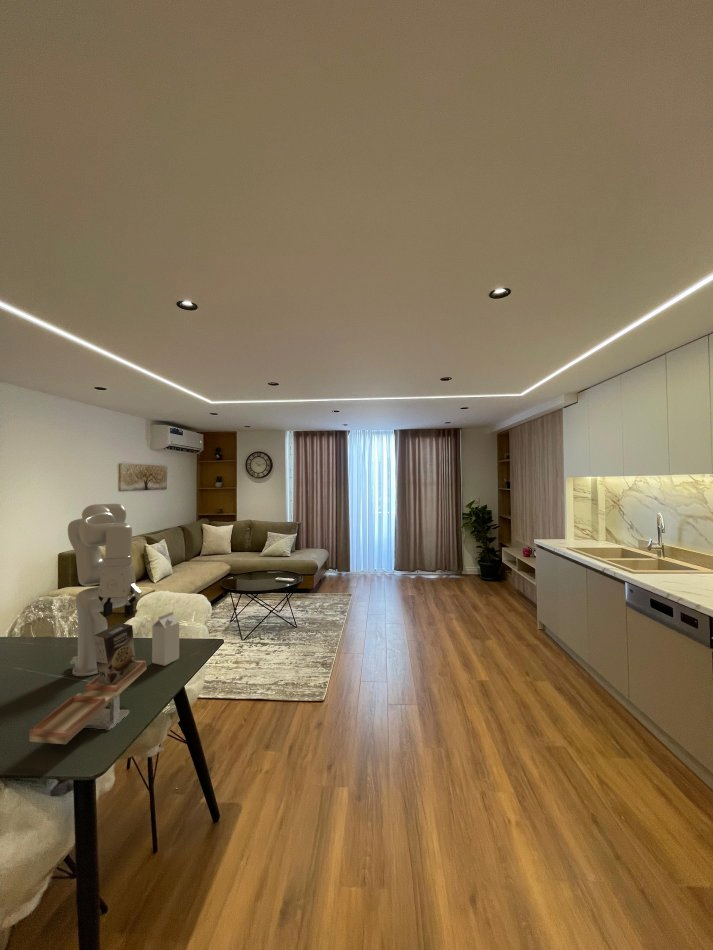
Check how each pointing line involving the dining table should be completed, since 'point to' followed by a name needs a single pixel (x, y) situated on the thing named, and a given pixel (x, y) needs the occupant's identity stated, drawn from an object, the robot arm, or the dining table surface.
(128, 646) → the coffee box
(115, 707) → the seesaw stand
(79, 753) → the dining table surface
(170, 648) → the milk carton
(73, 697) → the seesaw beam
